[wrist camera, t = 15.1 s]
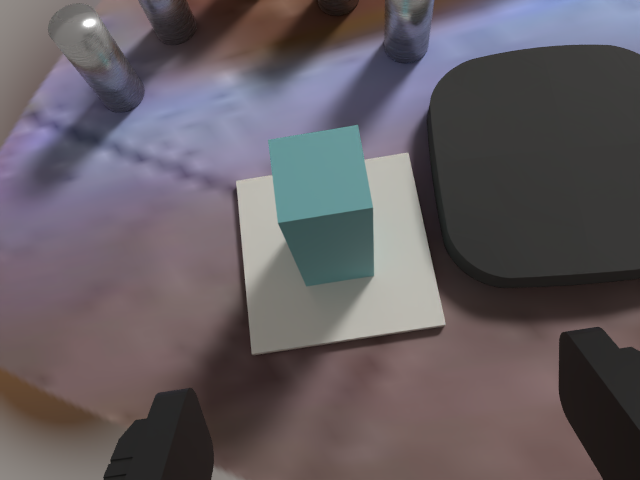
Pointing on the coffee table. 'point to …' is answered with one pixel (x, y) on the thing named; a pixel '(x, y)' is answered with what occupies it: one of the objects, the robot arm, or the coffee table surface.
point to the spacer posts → (179, 25)
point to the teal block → (324, 204)
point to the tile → (343, 296)
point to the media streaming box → (540, 165)
